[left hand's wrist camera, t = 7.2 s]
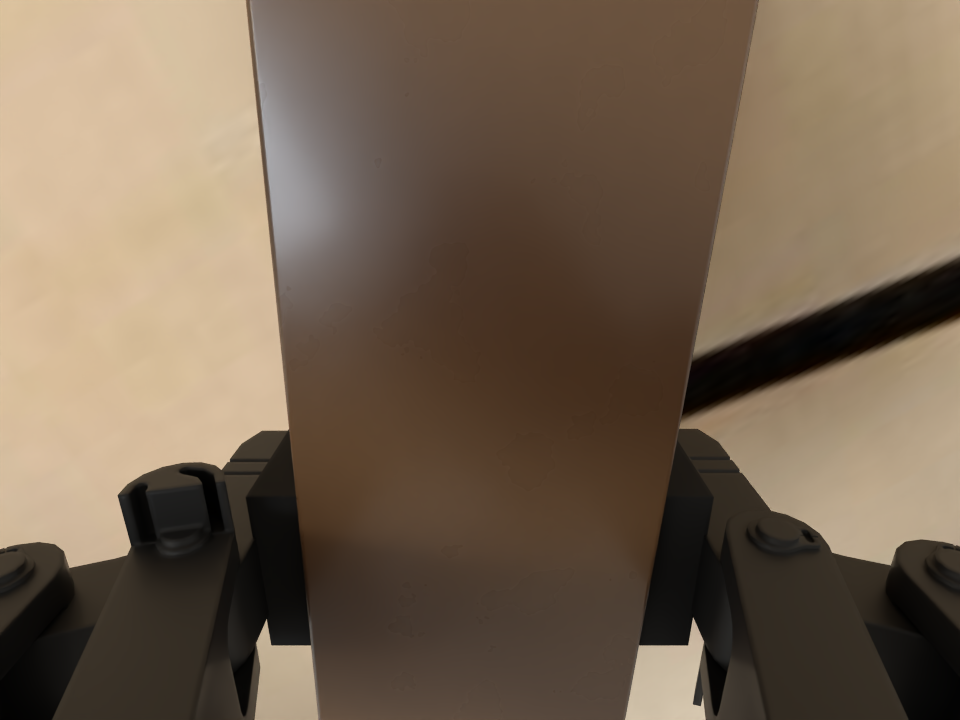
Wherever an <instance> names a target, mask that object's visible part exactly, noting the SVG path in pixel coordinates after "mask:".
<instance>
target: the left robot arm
mask: <svg viewBox="0 0 960 720" xmlns="http://www.w3.org/2000/svg"><path fill="white" fill-rule="evenodd" d="M118 498H119V502H120V506H121V510H122V513H123V517H124V521H125V524H126V528H127V532H128V535H129V539H130V543H131V548H130V551H129V553H128V555H127V556H123V557H120V558H116V559H112V560H107V561H102V562H97V563H92V564H87V565H82V566H78V567H73V568H69V566H68V563H67V560H66V557H65V554H64V551H63V550H61V549H60V548H59V547H58V546H56V545H55V544H48V543H41V542H37V543H29V544H20V545H15V546H10V547H7V548H6V549H4V548H3V549H0V720H254V718H255V709H256V700H257V691H258V683H259V674H260V663H259V656H258V651H257V646H256V642H257V640H258V637H259V635H260V633H261V631H262V628H263V626H264V624H265V621H266V619H267V622H268V628H269V634H270V639H271V645H311V639H310V629H309V620H308V610H307V600H306V590H305V580H304V570H303V560H302V550H301V541H300V531H299V521H298V511H297V501H296V491H295V481H294V471H293V461H292V452H291V442H290V432H289V430H288V431H261V432H260V433H258V434H256V435H255V436H253V437H252V438H250V439H249V440H247V441H246V442H244V443H242V444H241V446H240V447H239V448H238V449H237V451H236V452H235V453H234V455H233V456H232V457H231V459H230V462H228V463H227V464H226V465H225V466H224V468H223V469H222V470H220V469H219V468H218V467H217V466H215V465H211V464H206V463H201V462H199V463H180V464H175V465H171V466H166V467H162V468H159V469H157V470H154V471H151V472H149V473H146V474H144V475H142V476H140V477H139V478H137V479H135V480H134V481H132V482H131V483H129V484H127V486H126V487H125V488H124V489H123V490H122V491H121V492H120V493H119V494H118ZM693 617H694V620H695V622H696V624H697V626H698V629H699V631H700V633H701V635H702V638H703V640H704V646H703V651H702V656H701V661H700V667H699V672H698V677H697V683H696V688H695V694H694V701H693V704H694V705H698V706H701V702H702V697H703V699H704V708H705V716H706V720H960V546H957V545H956V546H954V545H953V544H949V543H945V542H938V541H929V540H915V541H907V542H904V543H903V544H902V545H901V546H899V547H898V548H897V549H896V552H895V555H894V558H893V561H892V564H891V566H890V565H885V564H880V563H875V562H870V561H866V560H861V559H856V558H851V557H846V556H842V555H838V554H835V553H832V552H831V550H830V547H829V545H828V544H827V543H826V541H825V540H824V539H823V538H822V536H821V535H820V534H819V533H818V532H817V531H815V530H814V529H812V528H811V527H810V526H808V525H807V524H805V523H804V522H802V521H799V520H797V519H795V518H793V517H790V516H788V515H786V514H781V513H777V512H773V511H771V510H770V509H769V507H768V506H767V505H766V504H765V502H764V501H763V500H762V498H761V497H760V496H759V494H758V493H757V492H756V491H755V489H754V488H753V487H752V485H751V484H750V483H749V481H748V480H747V479H746V478H745V476H744V475H743V474H742V473H740V472H739V468H738V467H737V466H736V465H735V463H734V462H733V461H732V460H730V457H729V455H728V454H727V453H726V452H725V450H724V449H723V448H722V446H721V445H720V444H719V443H718V442H717V441H716V440H714V439H713V438H711V437H709V436H708V435H706V434H705V433H703V432H702V431H700V430H698V429H679V432H678V437H677V442H676V448H675V453H674V459H673V464H672V469H671V475H670V480H669V485H668V491H667V496H666V502H665V507H664V512H663V518H662V523H661V529H660V534H659V539H658V545H657V550H656V555H655V561H654V566H653V572H652V577H651V582H650V588H649V593H648V598H647V604H646V609H645V615H644V620H643V625H642V631H641V636H640V641H639V645H688V643H689V637H690V631H691V625H692V620H693Z"/></svg>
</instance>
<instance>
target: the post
mask: <svg viewBox="0 0 960 720" xmlns="http://www.w3.org/2000/svg"><path fill="white" fill-rule="evenodd" d="M758 1H759V0H246V7H247V17H248V27H249V36H250V46H251V56H252V66H253V76H254V86H255V96H256V106H257V116H258V125H259V135H260V145H261V155H262V165H263V175H264V185H265V195H266V204H267V214H268V224H269V234H270V244H271V254H272V264H273V274H274V284H275V293H276V303H277V313H278V323H279V333H280V343H281V353H282V363H283V372H284V382H285V392H286V402H287V412H288V422H289V432H290V442H291V452H292V461H293V471H294V481H295V491H296V501H297V511H298V521H299V531H300V541H301V550H302V560H303V570H304V580H305V590H306V600H307V610H308V620H309V629H310V639H311V649H312V659H313V669H314V679H315V689H316V699H317V709H318V718H319V720H625V717H626V711H627V706H628V701H629V695H630V690H631V684H632V679H633V674H634V668H635V663H636V658H637V652H638V647H639V641H640V636H641V631H642V625H643V620H644V615H645V609H646V604H647V598H648V593H649V588H650V582H651V577H652V572H653V566H654V561H655V555H656V550H657V545H658V539H659V534H660V529H661V523H662V518H663V512H664V507H665V502H666V496H667V491H668V485H669V480H670V475H671V469H672V464H673V459H674V453H675V448H676V442H677V437H678V432H679V426H680V421H681V416H682V410H683V405H684V399H685V394H686V389H687V383H688V378H689V373H690V367H691V362H692V356H693V351H694V346H695V340H696V335H697V330H698V324H699V319H700V313H701V308H702V303H703V297H704V292H705V287H706V281H707V276H708V270H709V265H710V260H711V254H712V249H713V243H714V238H715V233H716V227H717V222H718V217H719V211H720V206H721V200H722V195H723V190H724V184H725V179H726V174H727V168H728V163H729V157H730V152H731V147H732V141H733V136H734V131H735V125H736V120H737V114H738V109H739V104H740V98H741V93H742V88H743V82H744V77H745V71H746V66H747V61H748V55H749V50H750V45H751V39H752V34H753V28H754V23H755V18H756V12H757V7H758Z"/></svg>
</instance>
